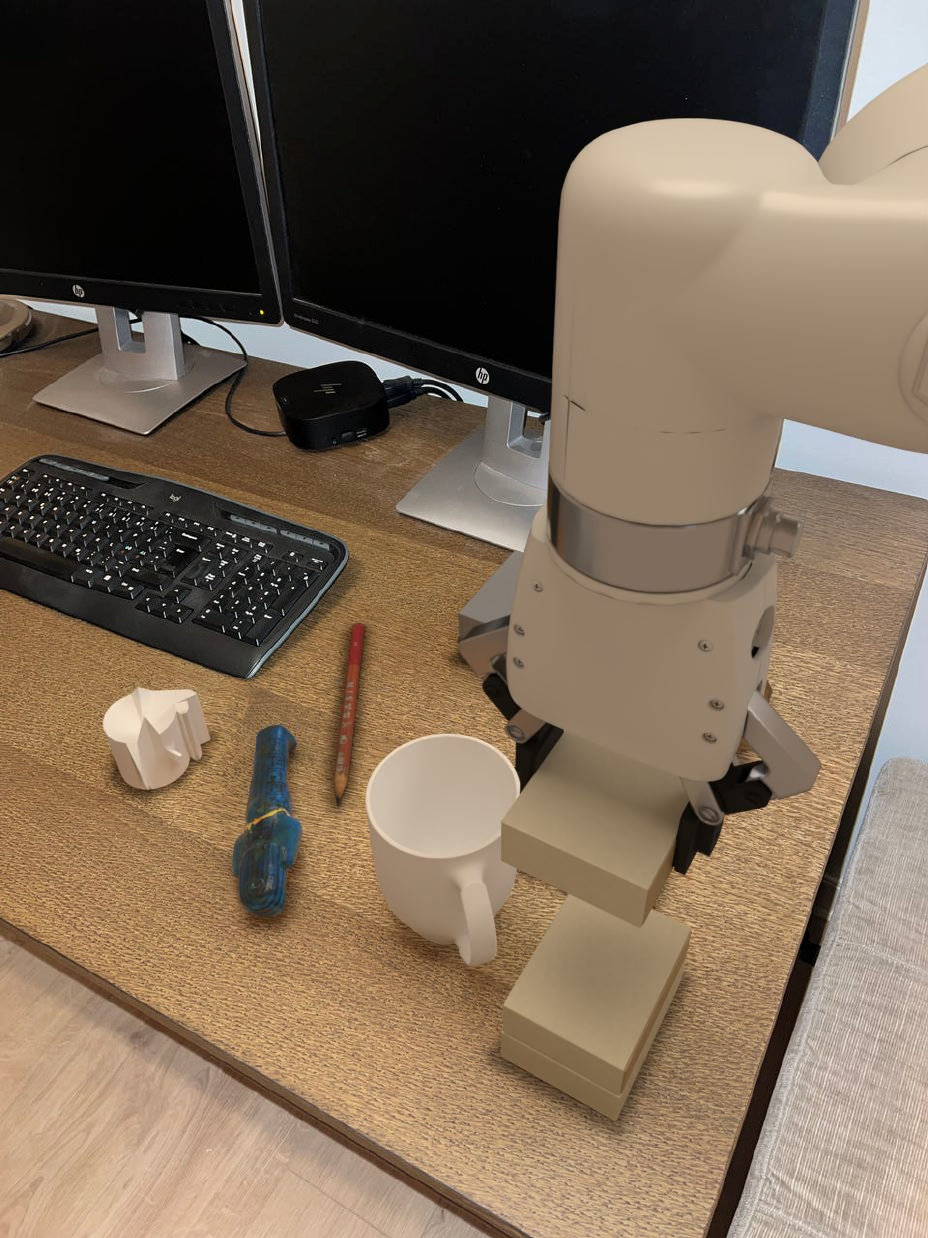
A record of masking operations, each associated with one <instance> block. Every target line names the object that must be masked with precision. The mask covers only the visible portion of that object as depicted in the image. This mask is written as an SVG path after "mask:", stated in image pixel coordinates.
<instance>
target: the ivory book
mask: <svg viewBox="0 0 928 1238" xmlns="http://www.w3.org/2000/svg"><path fill="white" fill-rule="evenodd" d="M688 802H689V798H688V796H687V794H686V792H685V789H684V787H683V785H682V783H681V780H680V778H679V776H676V775H674V774H671V773H668V772H666V771H663V770H660V769H658V768H655V767H653V766H650V765H648V764H645V763H643V762H640V761H638V760H635V759H633V758H631V757H628V756H626V755H623V754H621V753H618V752H616V751H613V750H611V749H609V748H606V747H604V746H601V745H599V744H597V743H594V742H592V741H589V740H587V739H585V738H582V737H580V736H578V735H575V734H573V733H570V732H568V731H566V730H564V733H563V735H562V736H561V737H560V739H559V740H558V742H557V743H556V745H555V746H554V747H553V749H552V750H551V752H550V753H549V755H548V756H547V757H546V759H545V760H544V762H543V763H542V765H541V766H540V767H539V769H538V770H537V772H536V773H535V774H534V775H533V776H532V778H531V779H530V781H529V782H528V784H527V785H526V786H525V788H524V789H523V791H522V792H521V794H520V795H519V796H518V798H517V799H516V801H515V802H514V804H513V805H512V806H511V808H510V809H509V811H508V812H507V814H506V815H505V816H504V818H503V819H502V821H501V861H502V862H504V863H506V864H508V865H510V866H512V867H515V868H517V870H519V871H520V872H523V873H525V874H527V875H529V876H531V877H533V878H535V879H537V880H540V881H541V882H544V883H546V884H548V885H549V886H552V887H554V888H555V889H558V890H560V891H562V892H563V893H566V894H567V895H568V894H570V895H572V896H574V897H576V898H578V899H581V900H583V901H585V902H587V903H589V904H591V905H593V906H595V907H597V908H599V909H601V910H603V911H605V912H607V913H609V914H611V915H614V916H616V917H618V918H620V919H622V920H624V921H626V922H628V923H630V924H632V925H634V926H636V927H638V928H641V927H642V925H643V924H644V922H645V920H646V919H647V917H648V915H649V913H650V911H651V909H653V907H654V905H655V903H656V902H657V900H658V897H659V896H660V894H661V892H662V890H663V888H664V886H665V884H666V882H667V880H668V879H669V877H670V875H671V873H672V871H673V870H674V867H672V862H673V856H674V851H675V846H676V841H677V839H676V837H677V832H678V827H679V821H680V818H681V815H682V813H683V811H684V809H685V808H686V806H687V804H688Z"/></svg>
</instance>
